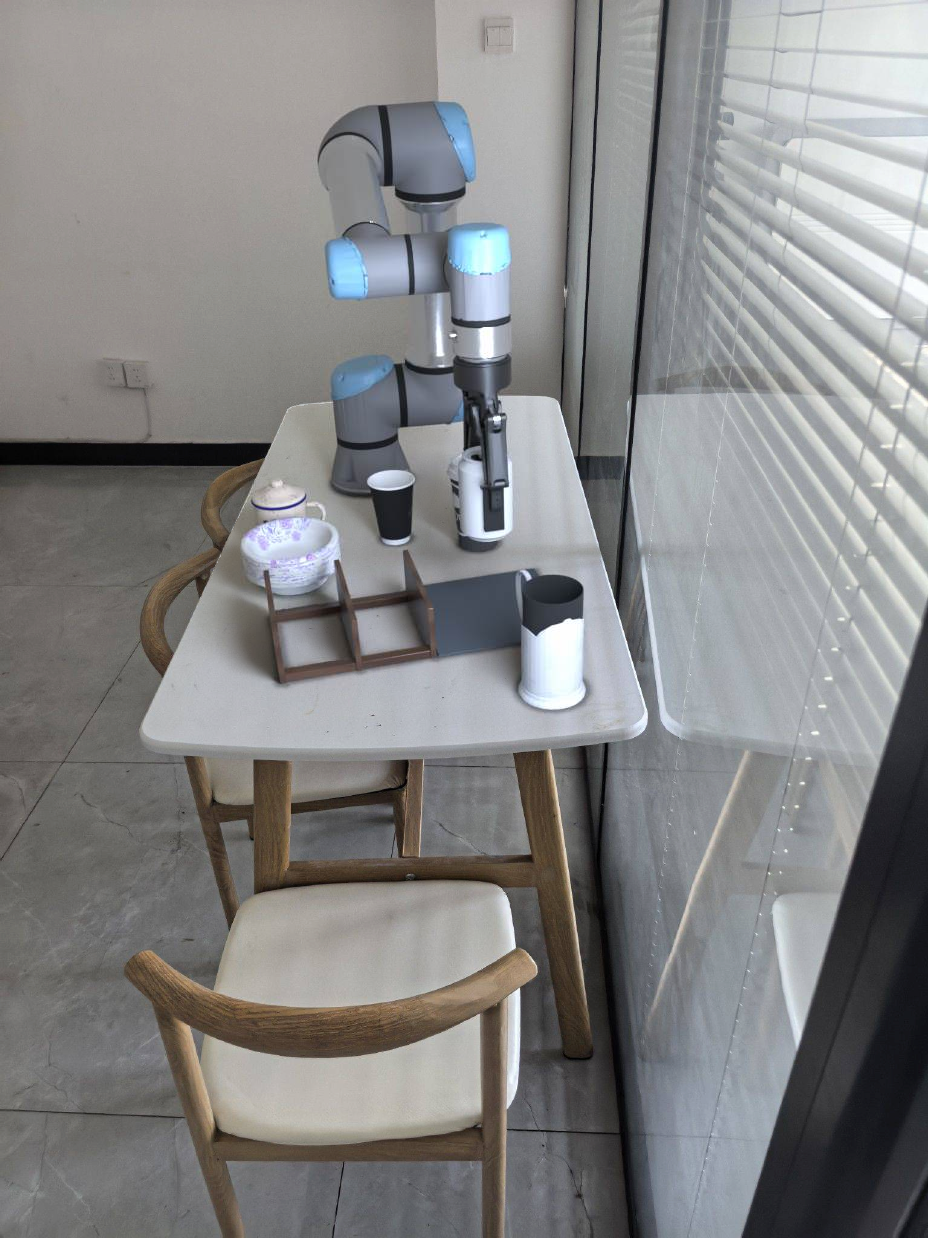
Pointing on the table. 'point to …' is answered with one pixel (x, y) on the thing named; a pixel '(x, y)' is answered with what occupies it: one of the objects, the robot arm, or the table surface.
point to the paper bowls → (291, 554)
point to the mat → (476, 613)
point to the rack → (346, 607)
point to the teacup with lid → (281, 502)
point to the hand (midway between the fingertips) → (486, 517)
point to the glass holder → (551, 640)
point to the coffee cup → (463, 538)
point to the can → (480, 497)
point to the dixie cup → (393, 504)
